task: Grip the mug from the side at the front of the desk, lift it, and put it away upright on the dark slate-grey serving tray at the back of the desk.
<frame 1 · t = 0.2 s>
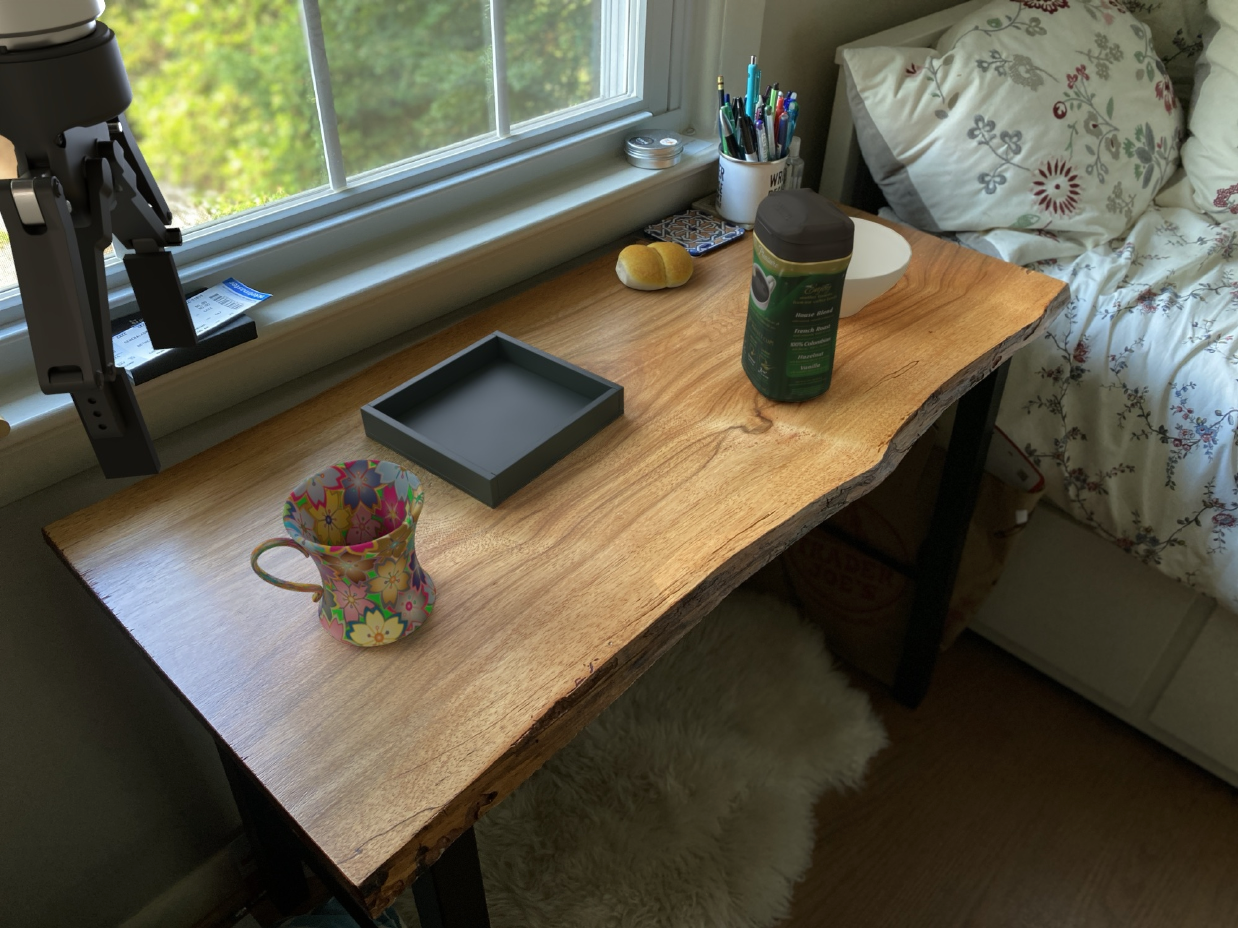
hand: (157, 403, 57), 19 cm above the table, tool pointing down, fingers open, 13 cm apart
tray: (496, 424, 87), on the table
coffee jar: (784, 380, 93), on the table
bowl: (827, 304, 106), on the table
bread roll: (653, 278, 111), on the table
mug: (362, 617, 69), on the table
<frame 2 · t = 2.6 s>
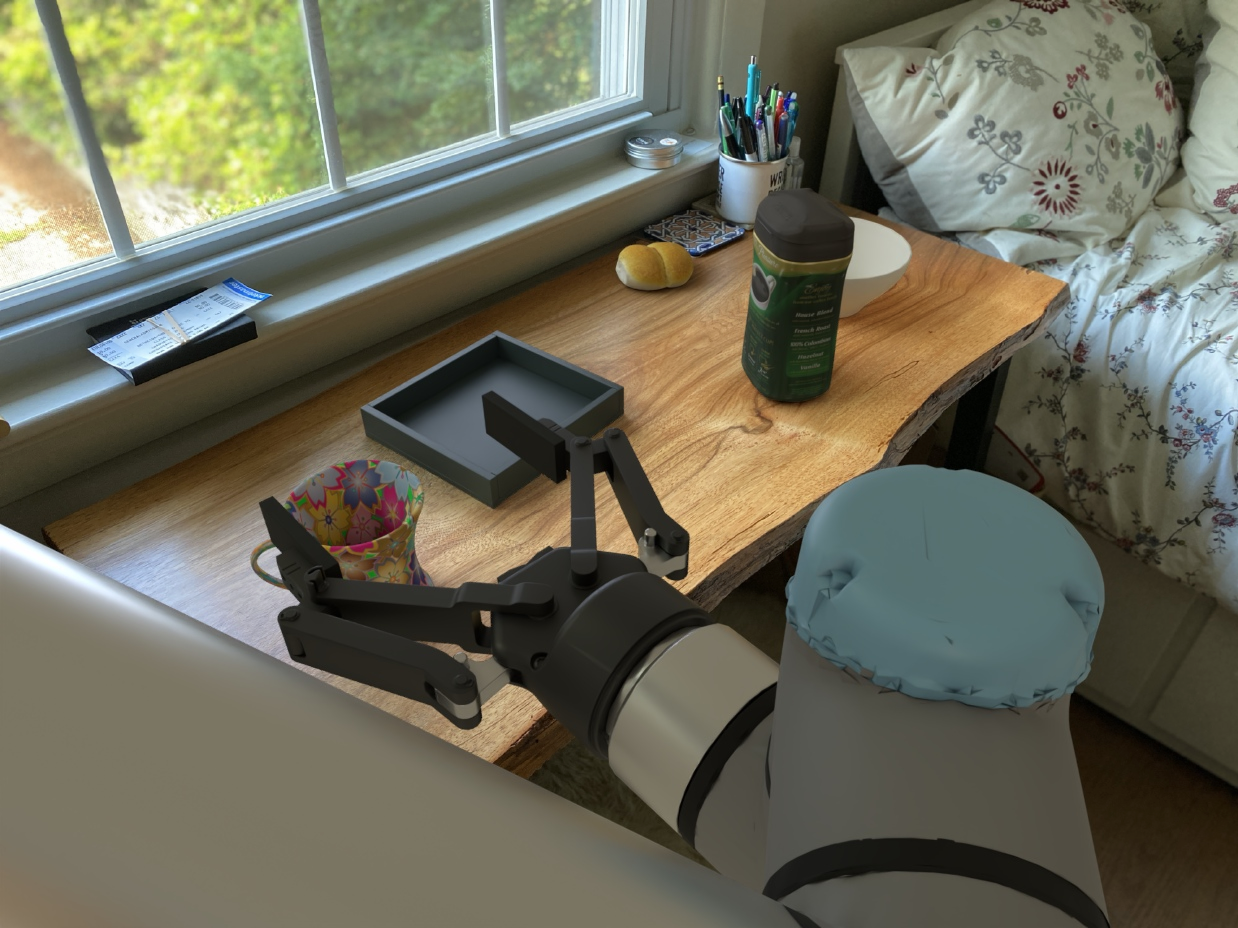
hand: (387, 461, 51), 20 cm above the table, tool horizontal, fingers open, 13 cm apart
nothing on the table moved.
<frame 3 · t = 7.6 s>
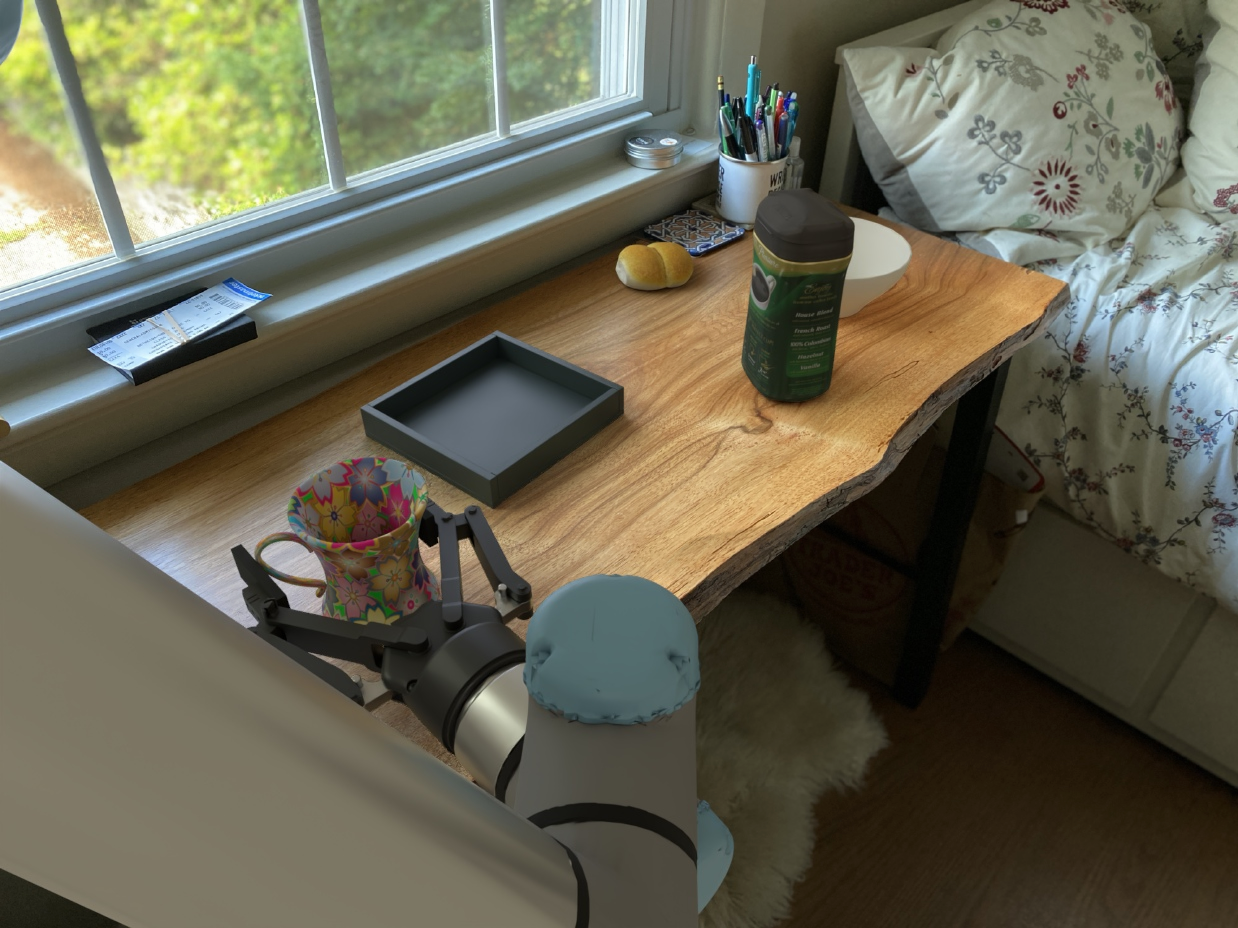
hand: (315, 522, 67), 7 cm above the table, tool horizontal, fingers closed on mug, 11 cm apart
mug: (365, 613, 69), on the table, touching gripper
everything else where it was.
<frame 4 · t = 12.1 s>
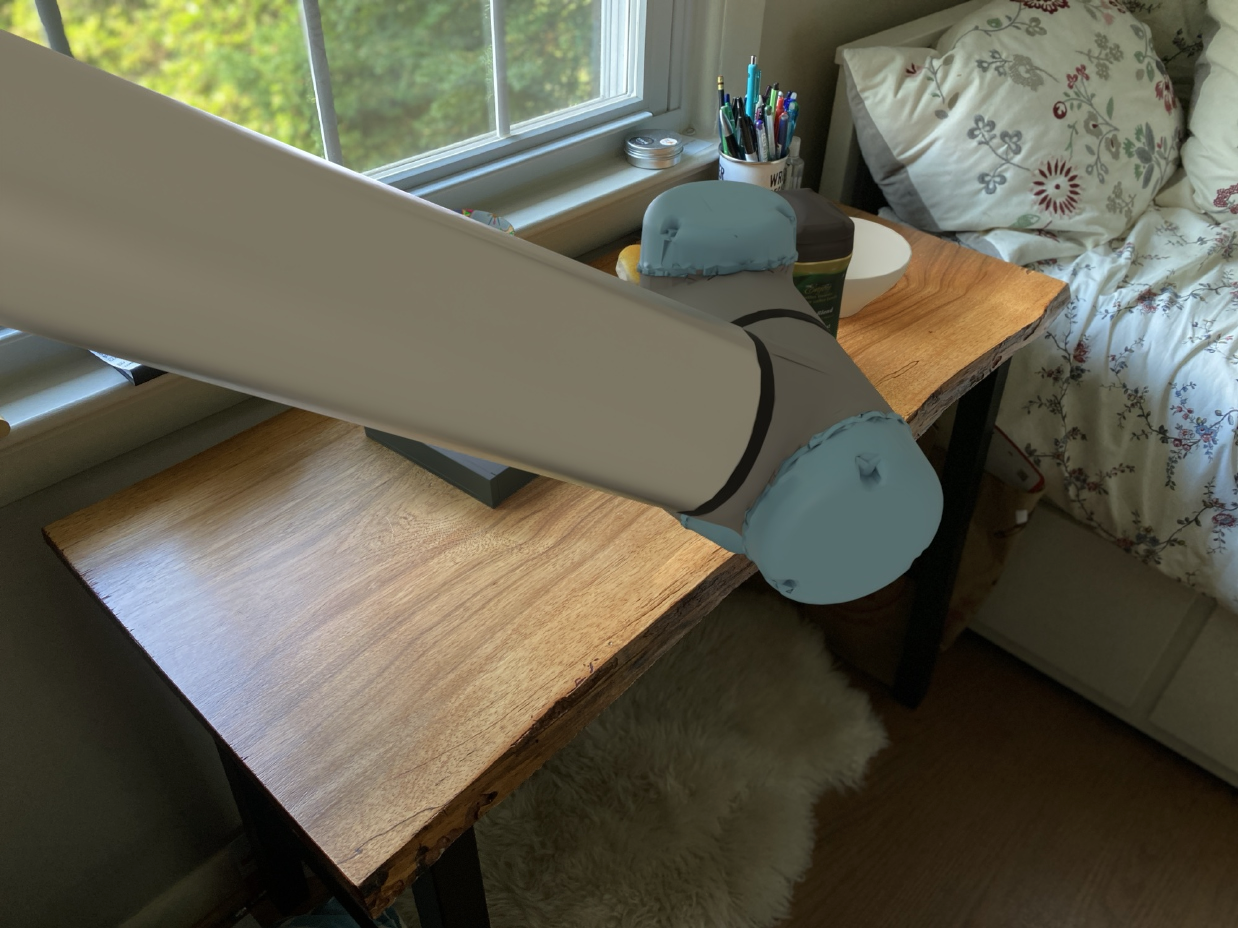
hand: (406, 272, 72), 18 cm above the table, tool horizontal, fingers closed on mug, 11 cm apart
mug: (450, 364, 74), point 11 cm above the table, touching gripper
everything else where it was.
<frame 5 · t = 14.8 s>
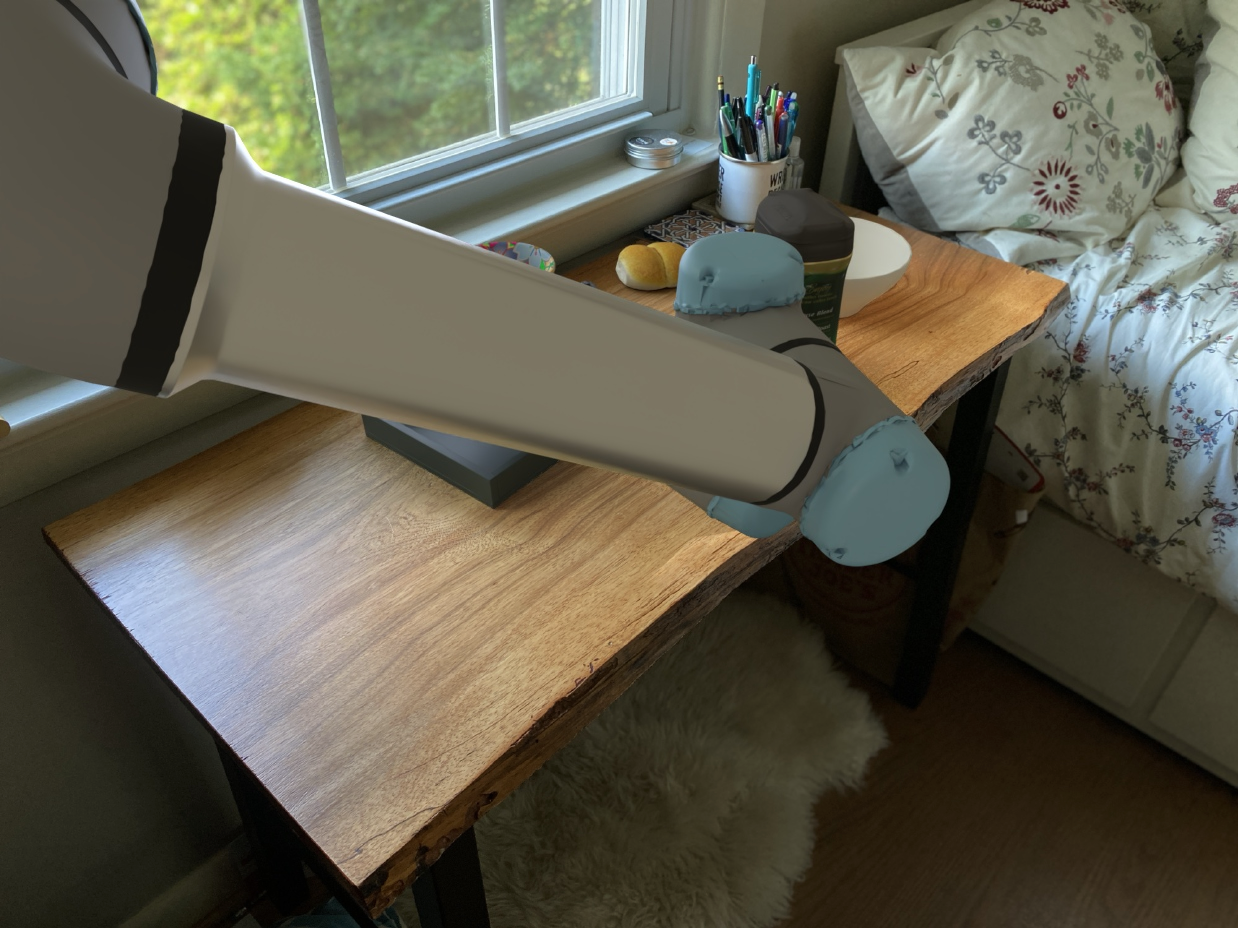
hand: (457, 297, 82), 12 cm above the table, tool horizontal, fingers closed on mug, 11 cm apart
mug: (495, 376, 85), point 5 cm above the table, touching gripper
everything else where it was.
when the fingers open (7 cm above the table, at t = 16.7 s): mug stays where it is, resting on tray.
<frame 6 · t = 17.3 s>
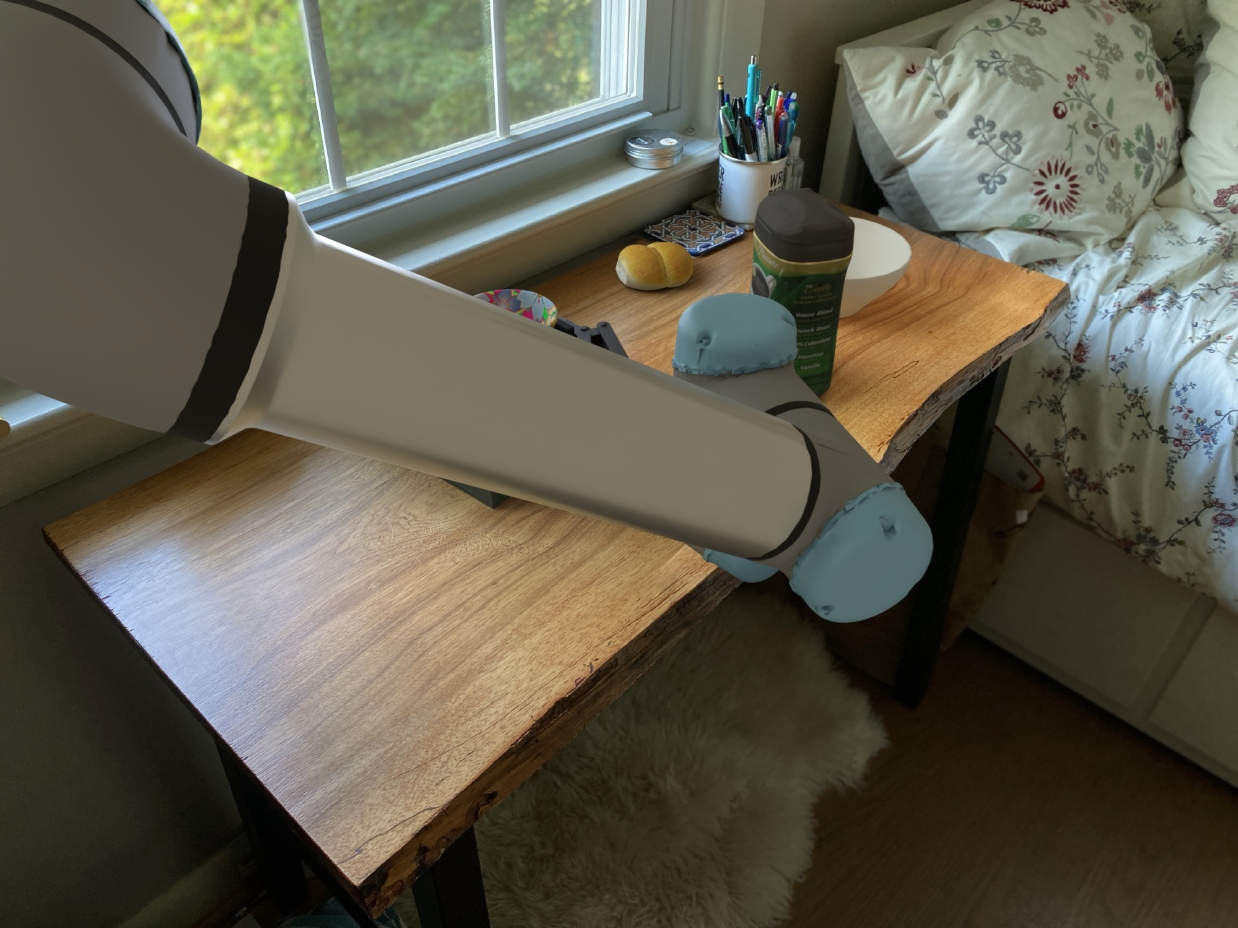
hand: (467, 340, 85), 8 cm above the table, tool horizontal, fingers open, 13 cm apart
mug: (499, 418, 87), resting on tray
everything else where it was.
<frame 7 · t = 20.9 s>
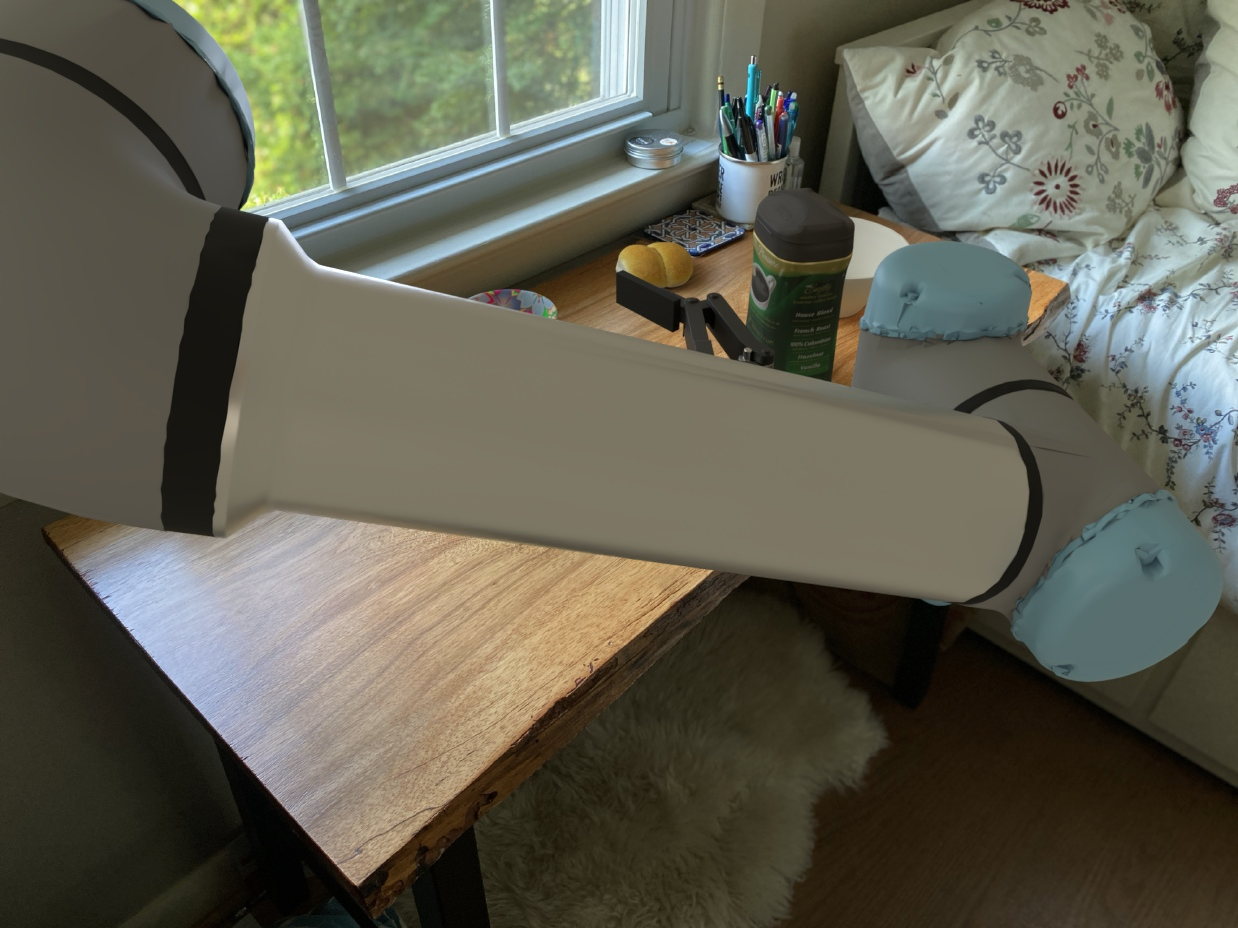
hand: (554, 314, 72), 16 cm above the table, tool horizontal, fingers open, 13 cm apart
nothing on the table moved.
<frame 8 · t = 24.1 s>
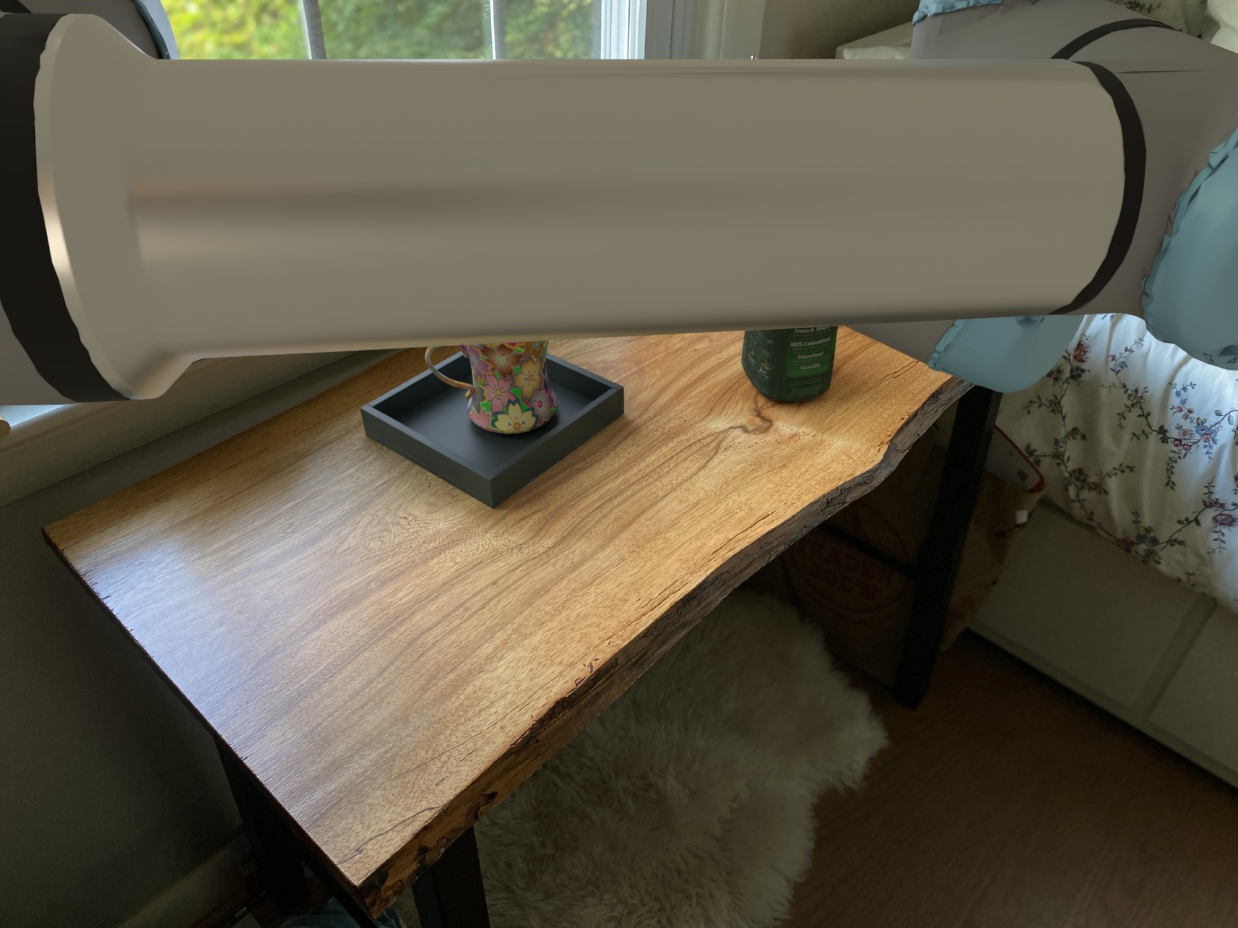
hand: (545, 128, 63), 30 cm above the table, tool horizontal, fingers open, 13 cm apart
nothing on the table moved.
at the end: mug inside the target area in the tray (0.5 cm from its centre), point 0.4 cm above the tray's base; mug tilted 0°; the gripper is holding nothing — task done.
